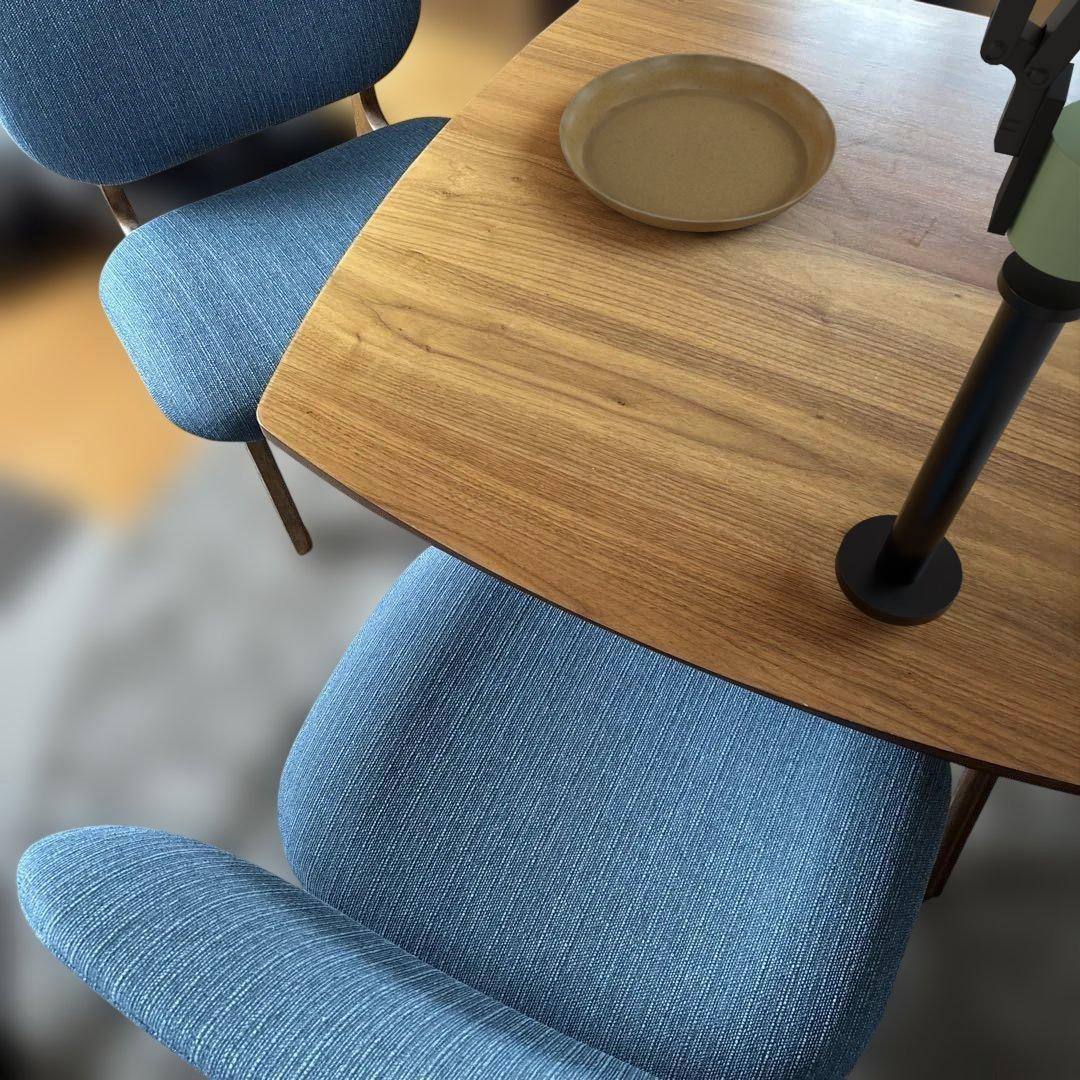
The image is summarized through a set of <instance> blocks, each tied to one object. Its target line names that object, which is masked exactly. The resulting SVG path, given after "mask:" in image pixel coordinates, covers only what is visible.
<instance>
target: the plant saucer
mask: <svg viewBox="0 0 1080 1080" xmlns="http://www.w3.org/2000/svg"><path fill="white" fill-rule="evenodd" d="M558 138H559V145H560V149H561V152H562V154H563V157H564V159H565V162H566V163H567V166H568V167H569V169H570V170H571V172H572V173H573V175H574V176H575V177H576V179H577V180H578V182H579V183H580V184H581V185H582V186H583V187H584V188H585V189H586V190H587V191H588V192H589V193H590V195H593V196H594V197H595V198H596V199H597V200H599V201H600V202H601V203H603V204H604V205H605V206H607V207H608V208H610V209H612V210H614V211H616V212H618V213H619V214H622V215H624V216H625V217H628V218H630V219H632V220H634V221H638V222H640V223H643V224H646V225H650V226H653V227H657V228H662V229H666V230H673V231H680V232H697V233H707V232H708V233H710V232H711V233H712V232H721V231H730V230H737V229H741V228H745V227H750V226H753V225H756V224H760V223H762V222H765V221H767V220H769V219H772V218H774V217H776V216H778V215H780V214H783V213H784V212H786V211H788V210H790V209H791V208H792V207H794V206H796V205H797V204H798V203H800V202H801V201H802V200H804V199H805V198H806V197H807V196H809V195H810V194H811V193H812V192H813V191H814V190H815V189H816V188H817V187H818V186H819V184H820V183H821V182H822V181H823V180H824V178H825V177H826V176H827V174H828V172H829V171H830V169H831V167H832V166H833V162H834V160H835V158H836V154H837V149H838V136H837V131H836V127H835V124H834V121H833V118H832V116H831V114H830V113H829V111H828V109H826V107H825V106H824V104H823V103H822V102H821V101H820V100H819V98H818V97H817V96H816V95H815V94H813V92H812V91H811V90H809V89H808V88H807V87H805V86H804V85H803V84H801V83H800V82H799V81H797V80H795V79H794V78H792V77H790V76H789V75H786V74H784V73H783V72H780V71H778V70H776V69H774V68H772V67H769V66H767V65H764V64H760V63H757V62H755V61H751V60H747V59H743V58H738V57H733V56H728V55H721V54H713V53H698V52H697V53H696V52H695V53H694V52H693V53H690V52H688V53H669V54H661V55H654V56H648V57H644V58H640V59H636V60H632V61H628V62H626V63H623V64H620V65H617V66H616V67H613V68H611V69H608V70H606V71H604V72H603V73H601V74H599V75H598V76H595V77H594V78H592V79H591V80H590V81H589V82H587V83H586V84H585V85H584V86H582V87H581V88H580V89H579V90H578V91H577V92H576V93H575V94H574V96H572V98H571V99H570V101H568V104H567V105H566V107H565V109H564V111H563V112H562V115H561V118H560V122H559V130H558Z"/></svg>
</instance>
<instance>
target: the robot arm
mask: <svg viewBox="0 0 1080 1080" xmlns="http://www.w3.org/2000/svg"><path fill="white" fill-rule="evenodd" d="M1037 1H1038V0H996V1H995V3H994V6H993V8H992V11H991V12H990V16H989V19H988V22H987V24H986V25H987V26H986V29H985V32H984V35H983V38H982V41H981V43H980V44H981V45H980V49H979V55H980V59H981V60H982V61H983V62H984V63H985V64H987V65H990V66H1000V65H1002V66H1004V67H1005V68H1006V69H1008V70H1009V71H1010V72H1012V73H1011V74H1012V75H1014V79H1015V81H1014V83H1013V86H1012V88H1011V90H1010V93H1009V96H1008V98H1007V100H1006V103H1005V106H1004V109H1003V110H1002V113H1001V115H1000V118H999V120H998V124H997V127H996V131H995V134H994V138H993V151H994V153H996V154H1000V155H1006V156H1009V157H1012V158H1011V160H1010V163H1009V166H1008V167H1007V170H1006V172H1005V174H1004V176H1003V179H1002V181H1001V182H1000V186H999V188H998V190H997V193H996V196H995V199H994V203H993V207H992V211H991V214H990V218H989V222H988V226H987V230H986V233H990V234H993V235H998V236H1002V237H1005V236H1006V235H1007V234H1006V232H1007V229H1008V227H1009V225H1010V223H1011V221H1012V218H1013V216H1014V214H1015V212H1016V210H1017V208H1018V205H1019V203H1020V201H1021V199H1022V197H1023V195H1024V192H1025V190H1026V188H1027V186H1028V184H1029V181H1030V179H1031V177H1032V175H1033V173H1034V171H1035V168H1036V166H1037V164H1038V162H1039V160H1040V157H1041V155H1042V153H1043V151H1044V149H1045V147H1046V144H1047V142H1048V140H1049V138H1050V136H1051V134H1052V131H1053V129H1054V127H1055V125H1056V123H1057V120H1058V118H1059V116H1060V114H1061V112H1062V110H1063V108H1064V107H1065V106H1066V103H1067V100H1068V96H1069V91H1070V86H1071V82H1072V78H1073V73H1074V69H1075V63H1074V62H1072V60H1073V59H1074V58H1075V57H1076V56H1077V55H1078V54H1079V52H1080V0H1059V2H1058V3H1057V4H1056V6H1055V7H1054V9H1053V10H1052V11H1051V12H1050V14H1049V15H1048V16H1047V17H1046V19H1045V20H1044V21H1043V22H1042V24H1041V25H1040V26H1039V25H1038V24H1037V23H1035V22H1033V21H1032V20H1031V19H1029V18H1030V16H1031V14H1032V12H1033V10H1034V8H1035V5H1036V3H1037Z"/></svg>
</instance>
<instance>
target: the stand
mask: <svg viewBox="0 0 1080 1080" xmlns="http://www.w3.org/2000/svg"><path fill="white" fill-rule="evenodd" d="M996 287H997V291H998V294H999V295H1000V297H1001V298H1002V301H1001V303H1000V305H999V306H998V309H997V311H996V313H995V315H994V317H993V319H992V321H991V323H990V325H989V327H988V328H987V331H986V333H985V336H984V338H983V340H982V341H981V344H980V346H979V348H978V349H977V352H976V353H975V356H974V359H973V360H972V362H971V364H970V366H969V369H967V370H968V371H967V373H966V375H965V376H964V379H963V381H962V383H961V385H960V386H959V389H958V390H957V393H956V395H955V397H954V399H953V401H952V403H951V405H950V407H949V408H948V412H947V414H946V415H945V417H944V420H943V422H942V423H941V426H940V428H939V429H938V432H937V434H936V436H935V438H934V440H933V442H932V445H931V447H930V449H929V450H928V453H927V454H926V457H925V459H924V461H923V463H922V465H921V467H920V468H919V471H918V473H917V475H916V477H915V478H914V481H913V484H912V485H911V488H910V490H909V492H908V494H907V496H906V498H905V501H904V502H903V504H902V506H901V508H900V510H899V512H898V514H881V515H874V516H871V517H867V518H866V519H862V520H861V521H859V522H858V523H856V524H854V525H853V526H852V527H851V528H850V529H849V530H848V531H847V532H846V534H844V537H843V538H842V540H841V542H840V545H839V547H838V550H837V552H836V555H835V558H834V559H835V560H834V574H835V578H836V580H837V583H838V586H839V588H840V590H841V592H842V593H843V595H844V596H845V598H846V599H847V600H848V601H849V602H850V603H851V604H852V605H853V606H854V607H855V608H856V609H857V610H858V611H860V612H861V613H863V614H864V615H865V616H867V617H869V618H870V619H873V620H875V621H877V622H880V623H882V624H883V623H884V624H886V625H890V626H896V627H918V626H922V625H925V624H928V623H929V624H930V623H931V622H934V621H936V620H938V619H939V618H940V617H942V616H943V615H944V614H946V612H947V611H949V609H950V608H951V606H952V605H953V603H954V602H955V600H956V599H957V597H958V595H959V593H960V591H961V589H962V586H963V582H964V581H963V580H964V572H963V566H962V562H961V558H960V557H959V554H958V553H957V550H956V549H955V547H954V546H953V544H952V543H951V542H950V541H949V540H948V539H947V538H946V534H947V532H948V531H949V529H950V527H951V526H952V524H953V522H954V521H955V518H956V517H957V515H958V513H959V511H960V509H961V508H962V506H963V504H964V502H965V501H966V499H967V497H968V495H969V494H970V492H971V490H972V488H973V486H975V483H976V481H977V480H978V478H979V476H980V474H981V473H982V470H983V469H984V468H985V466H986V464H987V462H988V460H989V459H990V457H991V455H992V453H993V452H994V450H995V449H996V447H997V445H998V443H999V442H1000V440H1001V438H1002V436H1003V434H1004V432H1005V430H1006V429H1007V427H1008V426H1009V424H1010V422H1011V420H1012V419H1013V416H1014V415H1015V413H1016V411H1017V410H1018V408H1019V406H1020V404H1021V402H1022V401H1023V399H1024V397H1025V395H1026V394H1027V392H1028V390H1029V389H1030V387H1031V385H1032V384H1033V381H1034V380H1035V378H1036V376H1037V374H1038V373H1039V371H1040V370H1041V367H1042V366H1043V364H1044V362H1045V360H1046V359H1047V357H1048V355H1049V354H1050V351H1051V350H1052V348H1053V346H1054V345H1055V343H1056V341H1057V339H1058V338H1059V336H1060V334H1061V332H1062V331H1063V329H1064V327H1065V325H1066V324H1067V323H1072V322H1076V321H1078V320H1080V282H1077V281H1070V280H1066V279H1062V278H1058V277H1055V276H1052V275H1050V274H1047V273H1045V272H1043V271H1041V270H1039V269H1037V268H1035V267H1034V266H1032V265H1030V264H1029V263H1028V262H1026V261H1025V260H1024V259H1023V258H1022V257H1020V256H1019V255H1018V254H1017V252H1016V251H1015V250H1013V251H1012V252H1011V253H1009V254H1008V255H1007V256H1006V257H1005V259H1004V261H1003V262H1002V265H1001V267H1000V269H999V271H998V273H997V276H996Z"/></svg>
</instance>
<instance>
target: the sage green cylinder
mask: <svg viewBox="0 0 1080 1080" xmlns="http://www.w3.org/2000/svg"><path fill="white" fill-rule="evenodd" d="M1005 235H1006V236H1007V240H1008V242H1009V244H1010V246H1011V247H1012V249H1013V251H1016V252H1017V254H1018V255H1019V256H1020V257H1022V258H1023V259H1024V260H1025V261H1026V262H1028V263H1029V264H1030V265H1032V266H1034V267H1035V268H1037V269H1039V270H1041V271H1043V272H1045V273H1047V274H1050V275H1052V276H1055V277H1058V278H1062V279H1066V280H1070V281H1077V282H1080V100H1076V101H1073V102H1071V103H1069V104H1067V105H1064V107H1063V110H1062V112H1061V114H1060V116H1059V118H1058V120H1057V123H1056V125H1055V127H1054V129H1053V131H1052V134H1051V136H1050V138H1049V140H1048V142H1047V144H1046V147H1045V149H1044V151H1043V153H1042V155H1041V157H1040V160H1039V162H1038V164H1037V166H1036V168H1035V171H1034V173H1033V175H1032V177H1031V179H1030V181H1029V184H1028V186H1027V188H1026V190H1025V192H1024V195H1023V197H1022V199H1021V201H1020V203H1019V205H1018V208H1017V210H1016V212H1015V214H1014V216H1013V218H1012V221H1011V223H1010V225H1009V227H1008V229H1007V232H1006V234H1005Z"/></svg>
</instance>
